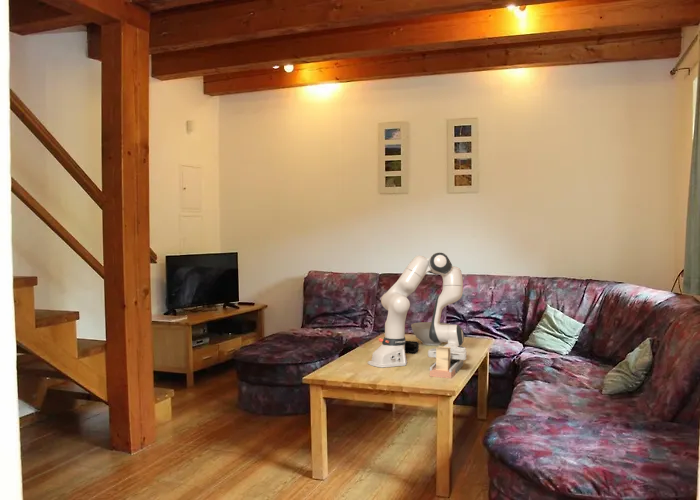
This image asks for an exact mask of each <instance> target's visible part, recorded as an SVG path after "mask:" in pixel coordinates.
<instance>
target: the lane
mask: <svg viewBox="0 0 700 500" xmlns="http://www.w3.org/2000/svg"><path fill="white" fill-rule="evenodd" d="M463 366H464V360H452V361H450V369H449V370H448V371H444V370H436V361H435V362H434V363H433V364H432V365H431V366H429V377H431V378H432V377H435V378H442V379H445V378H447V379H452V378H453V377H454V376H455V375H456V374H457V373H458V372H459V370H461V368H462V367H463Z"/></svg>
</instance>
